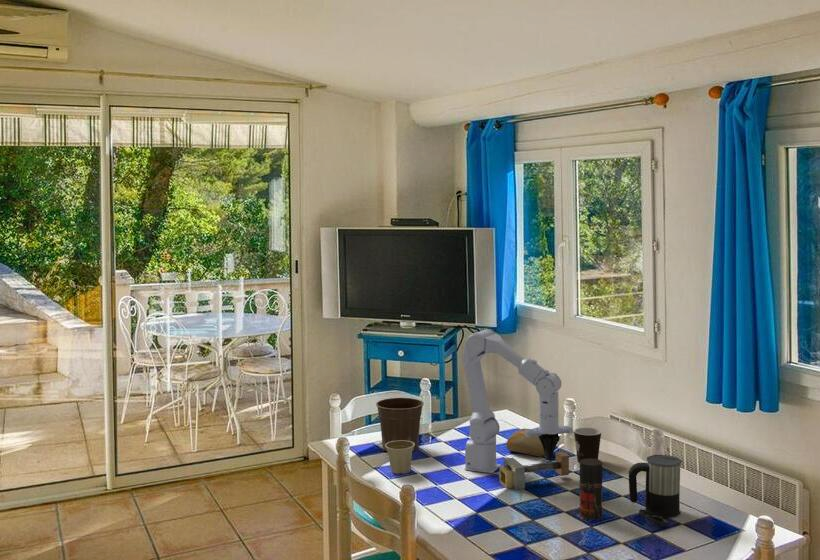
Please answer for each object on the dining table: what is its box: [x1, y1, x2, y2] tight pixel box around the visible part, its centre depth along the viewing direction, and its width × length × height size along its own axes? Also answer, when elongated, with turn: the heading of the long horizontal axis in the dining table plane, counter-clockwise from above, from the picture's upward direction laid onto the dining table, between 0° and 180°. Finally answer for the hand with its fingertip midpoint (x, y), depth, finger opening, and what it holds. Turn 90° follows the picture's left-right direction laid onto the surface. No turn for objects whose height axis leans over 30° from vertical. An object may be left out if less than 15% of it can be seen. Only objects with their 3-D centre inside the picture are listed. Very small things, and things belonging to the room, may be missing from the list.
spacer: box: [498, 465, 514, 489], centre depth 258 cm, size 2×6×5 cm, turn 15°
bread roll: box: [505, 428, 545, 458], centre depth 287 cm, size 10×15×8 cm, turn 61°
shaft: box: [522, 451, 570, 477], centre depth 261 cm, size 16×4×6 cm, turn 105°
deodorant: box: [579, 458, 603, 521], centre depth 232 cm, size 6×6×15 cm
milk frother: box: [628, 454, 683, 527], centre depth 230 cm, size 14×16×15 cm
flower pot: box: [385, 440, 415, 475], centre depth 272 cm, size 9×9×9 cm
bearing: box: [503, 457, 526, 490], centre depth 258 cm, size 3×9×6 cm, turn 15°
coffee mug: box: [573, 427, 602, 464], centre depth 279 cm, size 12×9×10 cm
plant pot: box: [375, 397, 425, 452], centre depth 295 cm, size 16×16×16 cm
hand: (548, 458), depth 261 cm, fingers closed
